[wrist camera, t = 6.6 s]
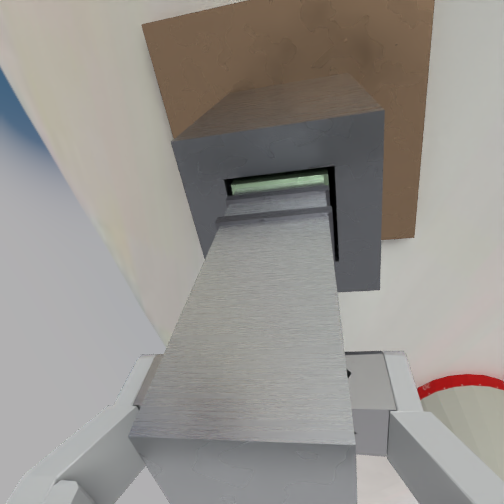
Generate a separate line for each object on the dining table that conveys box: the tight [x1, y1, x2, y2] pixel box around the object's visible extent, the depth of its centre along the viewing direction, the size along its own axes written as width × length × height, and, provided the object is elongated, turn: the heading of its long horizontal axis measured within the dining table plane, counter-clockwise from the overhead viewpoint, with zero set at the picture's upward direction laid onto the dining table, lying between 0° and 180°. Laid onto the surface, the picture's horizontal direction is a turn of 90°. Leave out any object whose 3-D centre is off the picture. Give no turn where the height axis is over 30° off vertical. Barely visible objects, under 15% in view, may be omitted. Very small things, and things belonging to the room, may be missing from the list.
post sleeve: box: [142, 0, 435, 292], centre depth 23 cm, size 20×20×16 cm
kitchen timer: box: [417, 374, 504, 481], centre depth 39 cm, size 14×14×15 cm
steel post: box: [128, 167, 357, 504], centre depth 15 cm, size 4×4×20 cm
